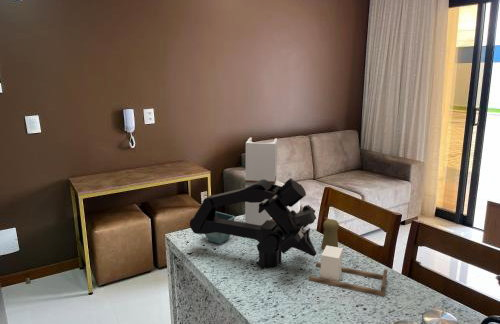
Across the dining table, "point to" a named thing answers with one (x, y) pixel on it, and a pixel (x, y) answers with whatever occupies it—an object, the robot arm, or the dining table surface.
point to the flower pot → (219, 236)
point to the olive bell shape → (330, 233)
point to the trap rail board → (351, 286)
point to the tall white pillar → (259, 175)
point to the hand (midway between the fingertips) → (315, 255)
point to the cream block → (331, 263)
